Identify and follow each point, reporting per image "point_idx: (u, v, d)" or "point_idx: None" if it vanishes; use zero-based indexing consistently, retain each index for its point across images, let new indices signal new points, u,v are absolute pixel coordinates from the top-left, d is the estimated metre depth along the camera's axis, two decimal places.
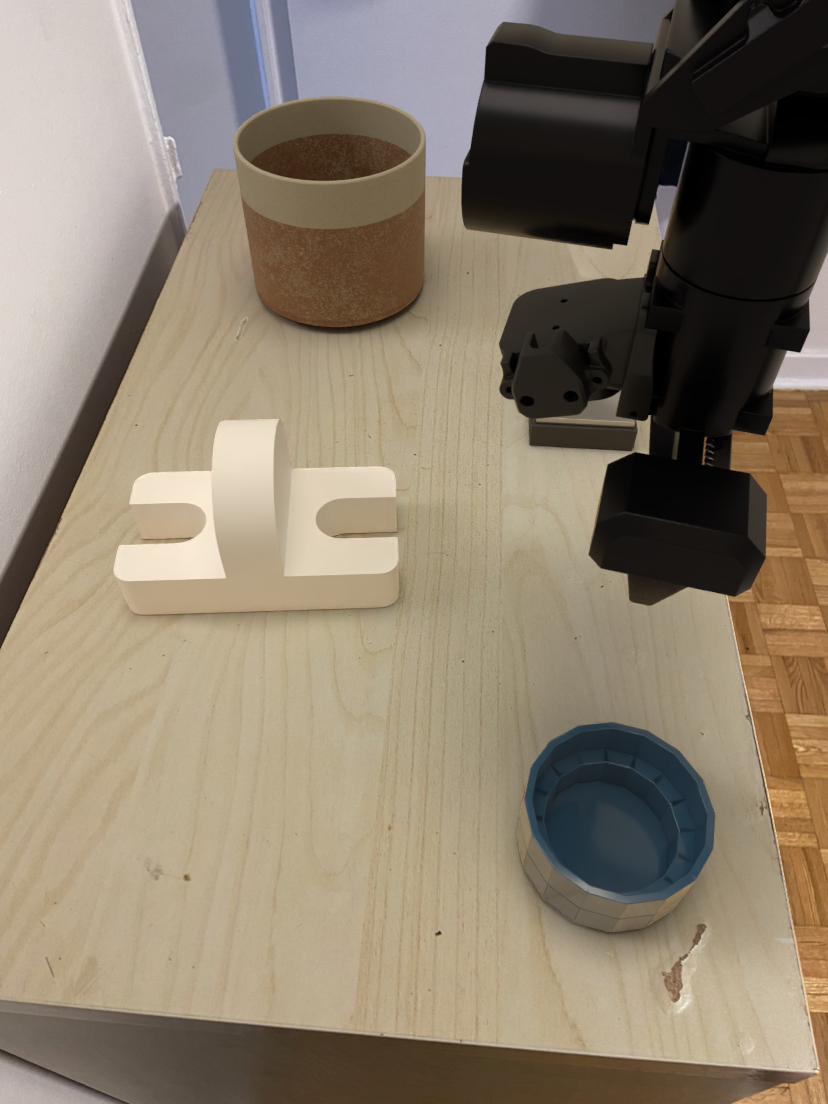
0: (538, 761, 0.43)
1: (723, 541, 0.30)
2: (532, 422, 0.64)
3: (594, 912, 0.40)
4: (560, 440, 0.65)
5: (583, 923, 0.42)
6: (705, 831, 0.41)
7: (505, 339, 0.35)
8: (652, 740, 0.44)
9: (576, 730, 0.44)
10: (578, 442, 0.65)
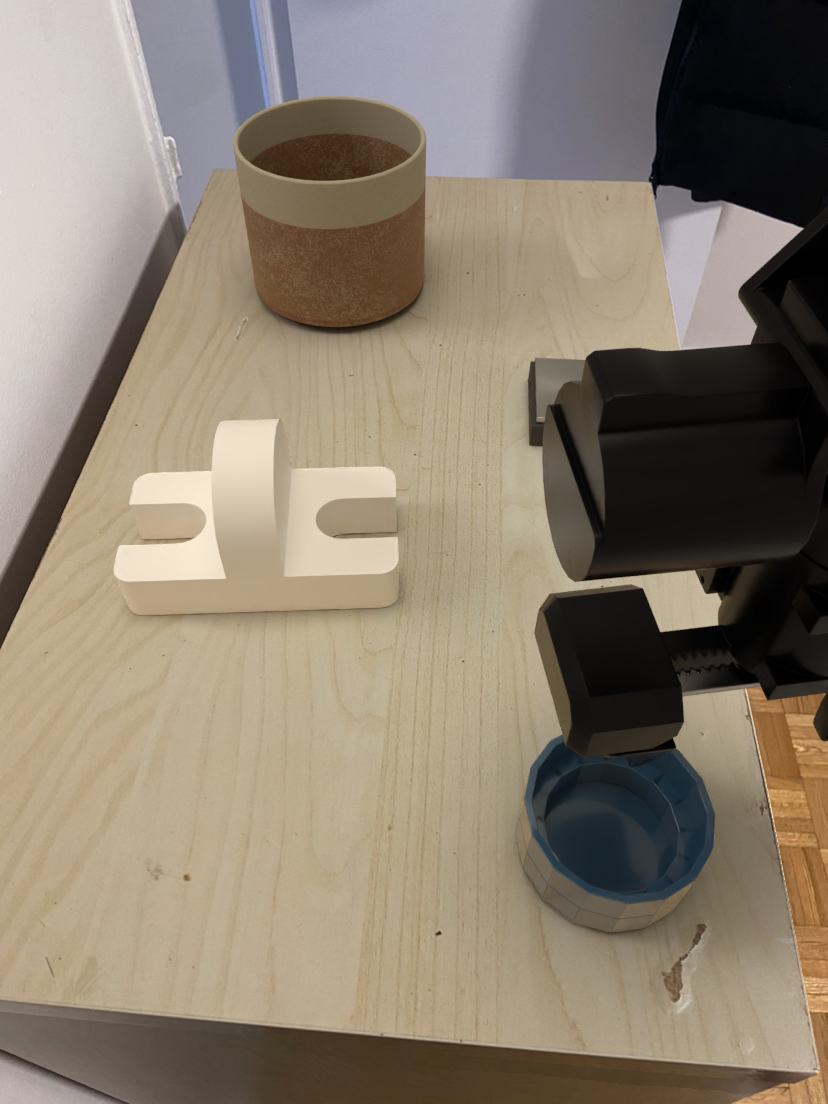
0: (538, 761, 0.43)
1: (576, 683, 0.30)
2: (532, 422, 0.64)
3: (594, 912, 0.40)
4: None
5: (583, 923, 0.42)
6: (705, 831, 0.41)
7: None
8: None
9: None
10: None
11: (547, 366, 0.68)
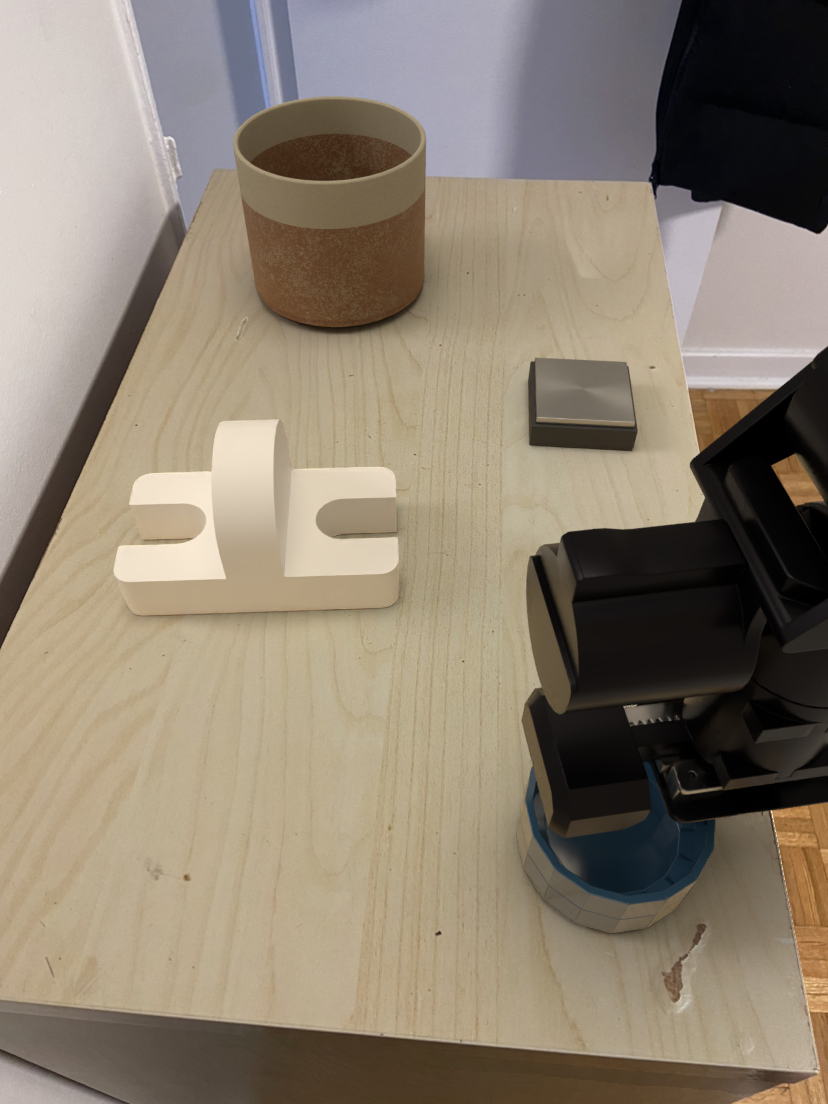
0: None
1: (556, 775, 0.34)
2: (532, 422, 0.64)
3: (596, 912, 0.40)
4: (560, 440, 0.65)
5: (584, 924, 0.42)
6: (706, 831, 0.41)
7: None
8: None
9: None
10: (578, 442, 0.65)
11: (547, 366, 0.68)
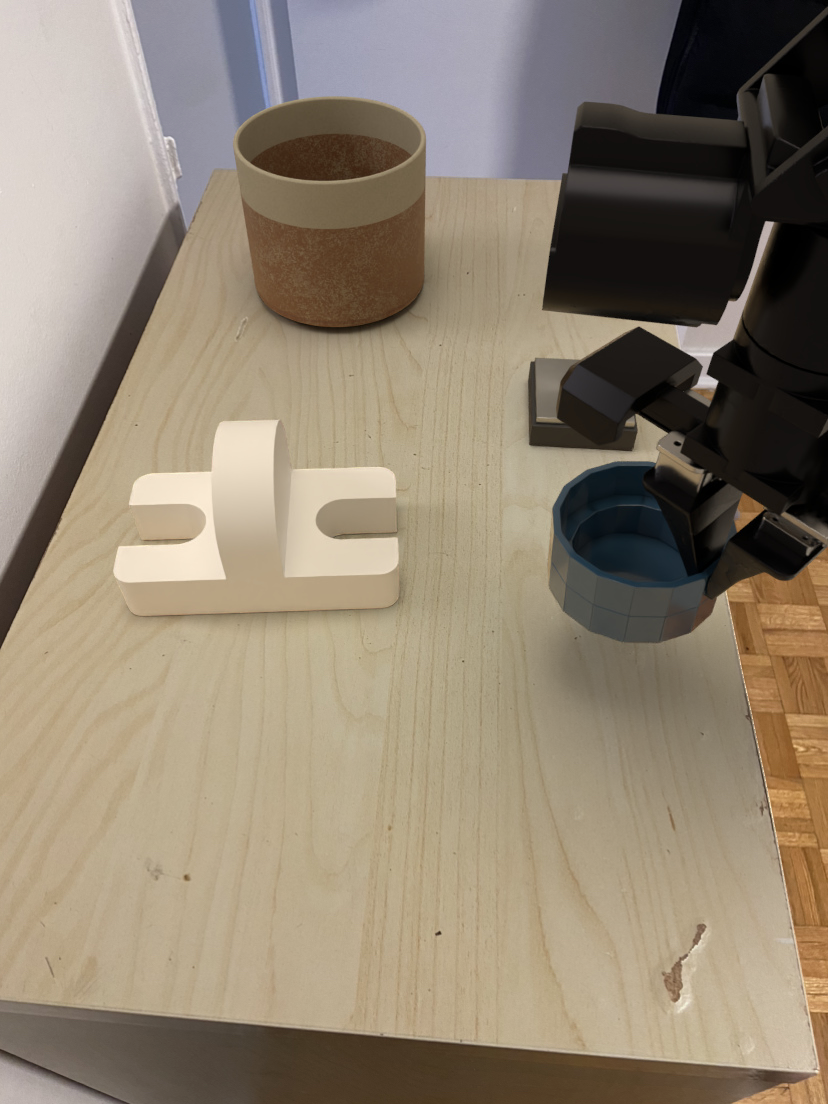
0: (625, 463, 0.47)
1: (584, 358, 0.39)
2: (532, 422, 0.64)
3: (557, 570, 0.44)
4: (560, 440, 0.65)
5: (552, 590, 0.46)
6: (684, 579, 0.41)
7: None
8: None
9: None
10: (578, 442, 0.65)
11: (547, 366, 0.68)
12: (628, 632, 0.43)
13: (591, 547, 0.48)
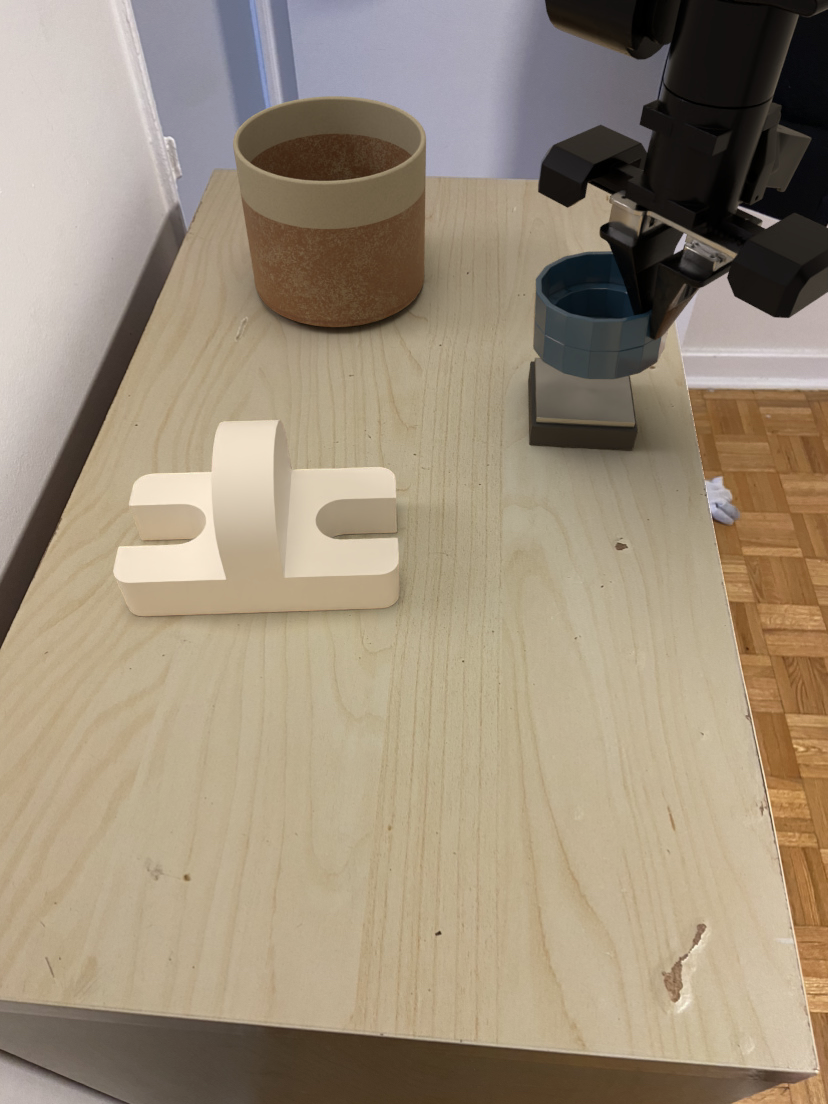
0: (594, 252, 0.60)
1: None
2: (532, 422, 0.64)
3: (538, 326, 0.58)
4: (560, 440, 0.65)
5: (535, 348, 0.60)
6: None
7: None
8: None
9: None
10: (578, 442, 0.65)
11: (547, 366, 0.68)
12: (591, 368, 0.57)
13: None
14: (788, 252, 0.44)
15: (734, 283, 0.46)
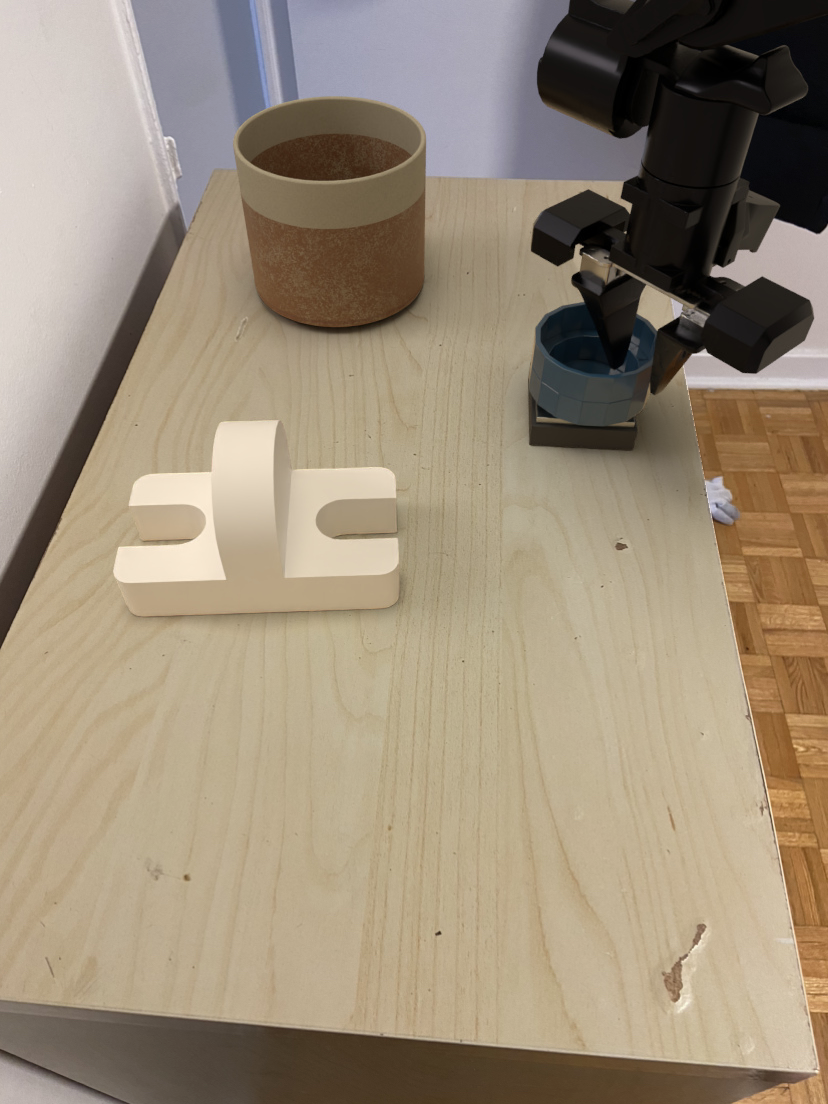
0: None
1: None
2: (532, 422, 0.64)
3: (535, 372, 0.63)
4: (560, 440, 0.65)
5: (531, 390, 0.64)
6: None
7: None
8: None
9: None
10: (578, 442, 0.65)
11: None
12: (582, 415, 0.62)
13: None
14: (754, 315, 0.49)
15: (707, 342, 0.51)
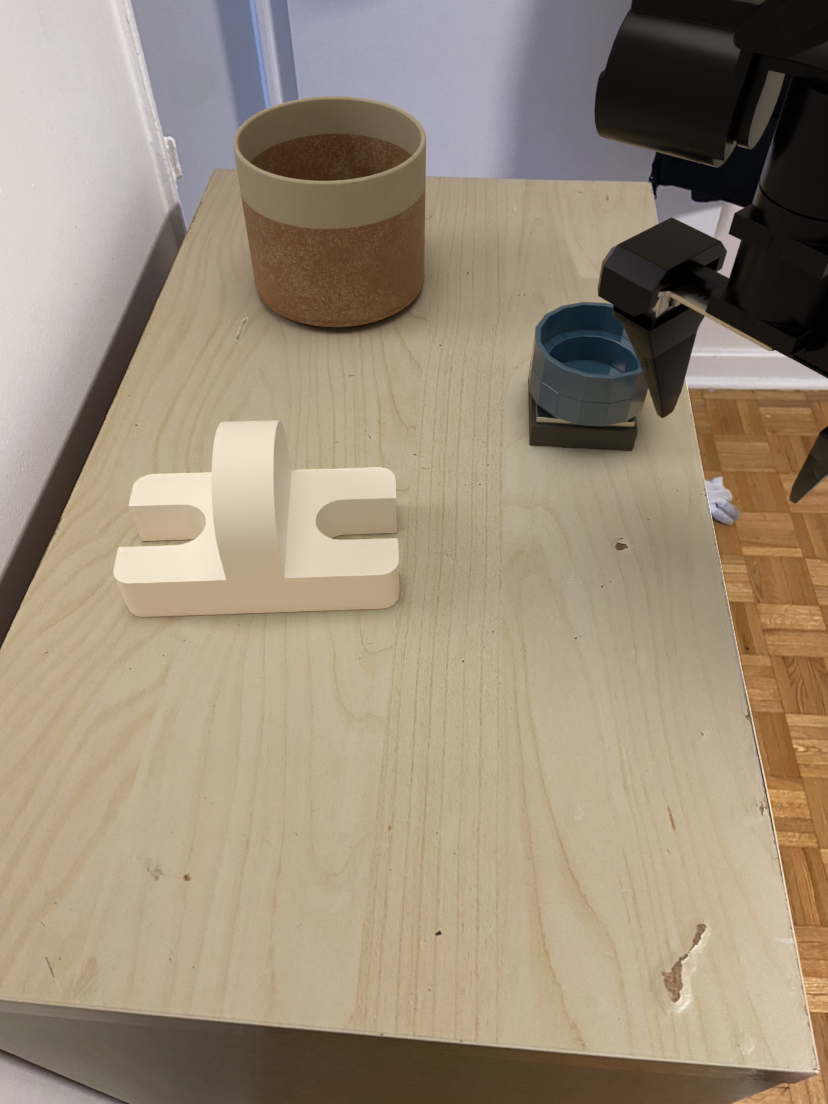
0: (589, 303, 0.65)
1: None
2: (532, 422, 0.64)
3: (535, 372, 0.63)
4: (560, 440, 0.65)
5: (531, 390, 0.64)
6: None
7: None
8: None
9: None
10: (578, 442, 0.65)
11: None
12: (582, 415, 0.62)
13: None
14: None
15: None
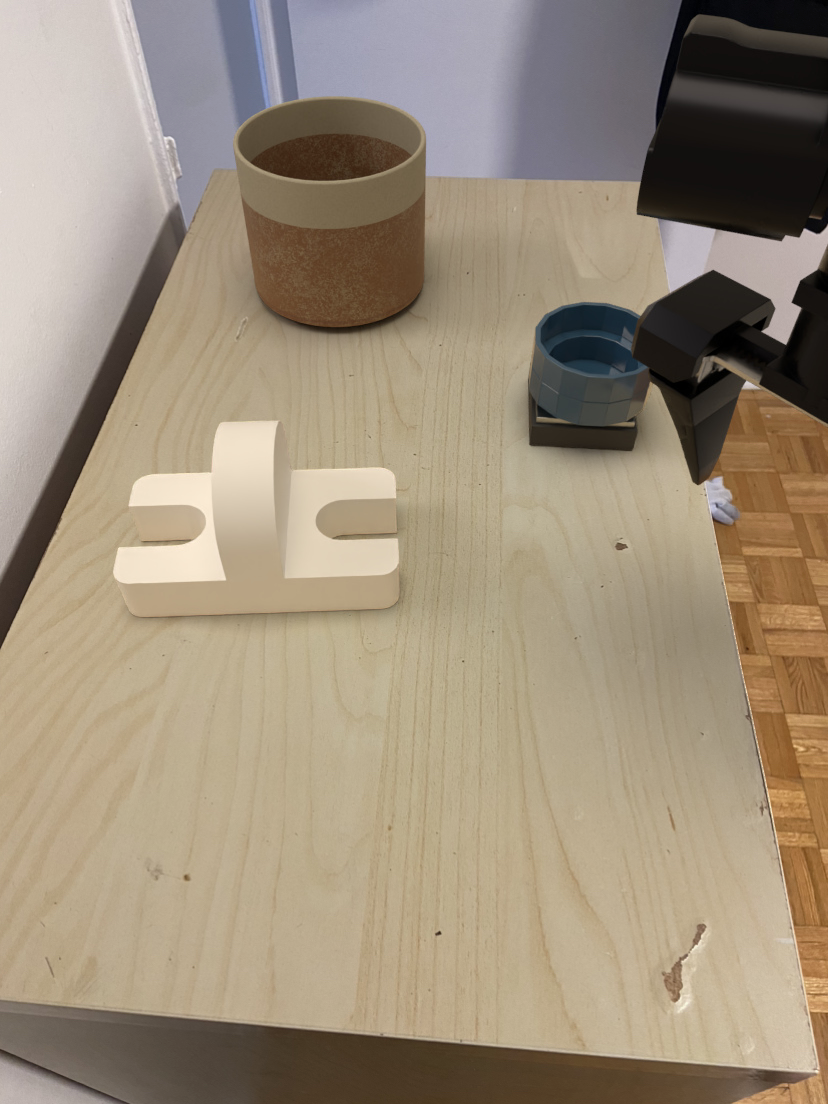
0: (589, 303, 0.65)
1: (661, 298, 0.40)
2: (532, 422, 0.64)
3: (535, 372, 0.63)
4: (560, 440, 0.65)
5: (531, 390, 0.64)
6: None
7: None
8: None
9: (625, 309, 0.64)
10: (578, 442, 0.65)
11: None
12: (582, 415, 0.62)
13: None
14: None
15: None
